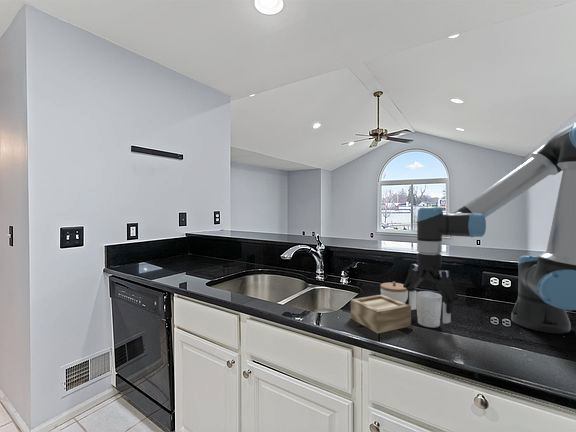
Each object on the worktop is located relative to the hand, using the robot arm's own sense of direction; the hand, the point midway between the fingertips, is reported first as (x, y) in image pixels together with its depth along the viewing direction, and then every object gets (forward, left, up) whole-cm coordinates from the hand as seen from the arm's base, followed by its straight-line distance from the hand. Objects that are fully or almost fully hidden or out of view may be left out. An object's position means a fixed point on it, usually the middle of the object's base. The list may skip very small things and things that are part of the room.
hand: (428, 315), depth 101 cm
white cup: (0, 0, -3) cm, 3 cm away
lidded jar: (+20, -4, -3) cm, 21 cm away
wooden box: (+8, +14, -3) cm, 16 cm away
